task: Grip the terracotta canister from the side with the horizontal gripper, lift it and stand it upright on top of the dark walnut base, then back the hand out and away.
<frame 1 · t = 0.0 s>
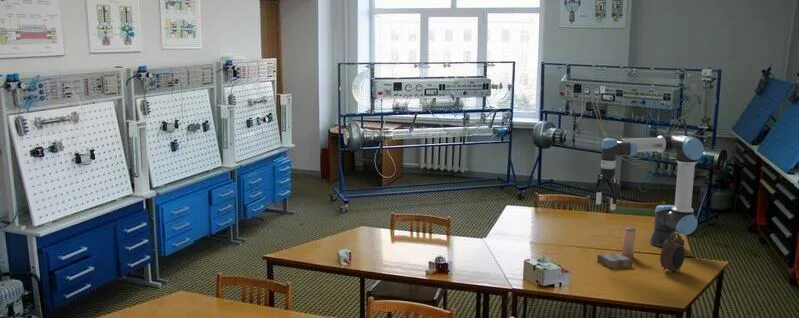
hand: (605, 206, 383), 28 cm above the table, tool pointing down, fingers open, 13 cm apart
base stand: (614, 264, 375), on the table
alarm clock: (672, 272, 365), on the table
canister: (627, 256, 389), on the table
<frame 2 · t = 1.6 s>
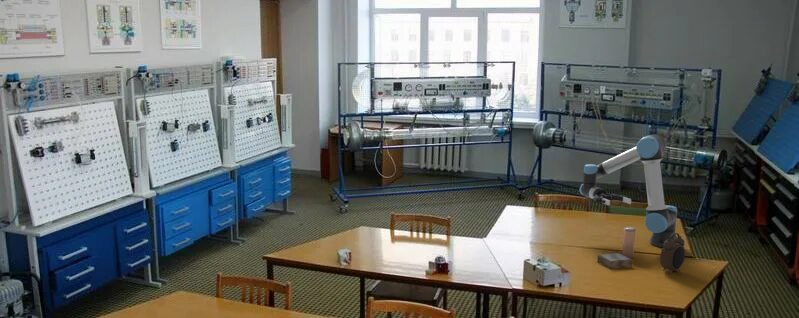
hand: (620, 202, 394), 28 cm above the table, tool horizontal, fingers open, 13 cm apart
nothing on the table moved.
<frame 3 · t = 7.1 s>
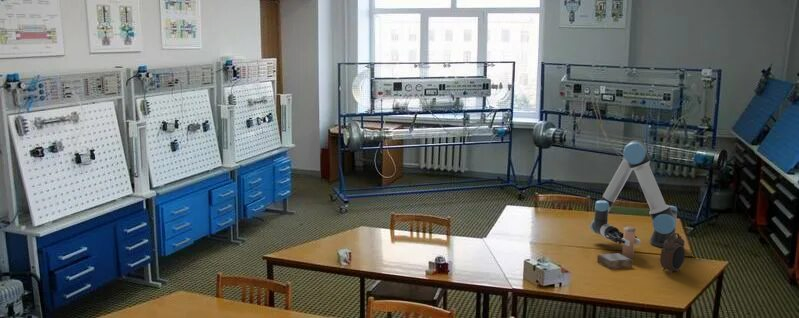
hand: (634, 243, 383), 9 cm above the table, tool horizontal, fingers closed on canister, 6 cm apart
canister: (627, 256, 389), on the table, touching gripper
everything else where it was.
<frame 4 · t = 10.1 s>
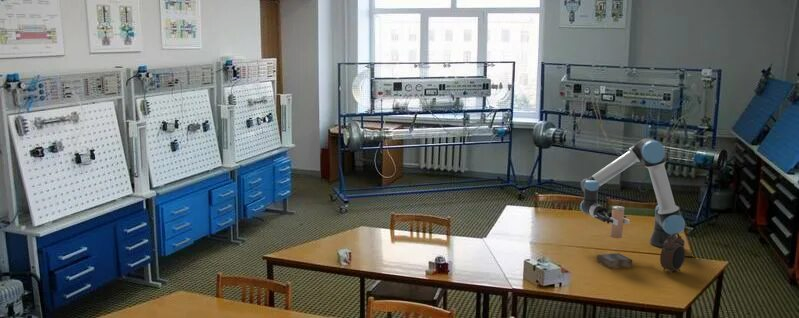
hand: (622, 222, 372), 23 cm above the table, tool horizontal, fingers closed on canister, 6 cm apart
canister: (616, 236, 378), point 14 cm above the table, touching gripper
everything else where it was.
when the fingers open (14 cm above the table, at t = 13.1 s): canister drops 1 cm, resting on base stand.
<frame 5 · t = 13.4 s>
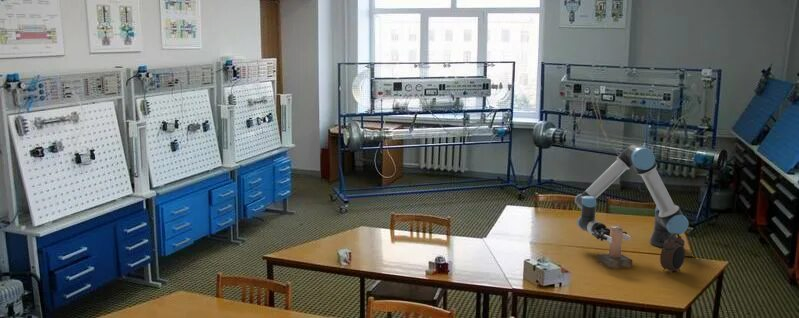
hand: (620, 239, 369), 14 cm above the table, tool horizontal, fingers open, 10 cm apart
canister: (614, 256, 375), point 4 cm above the table, touching base stand
everything else where it was.
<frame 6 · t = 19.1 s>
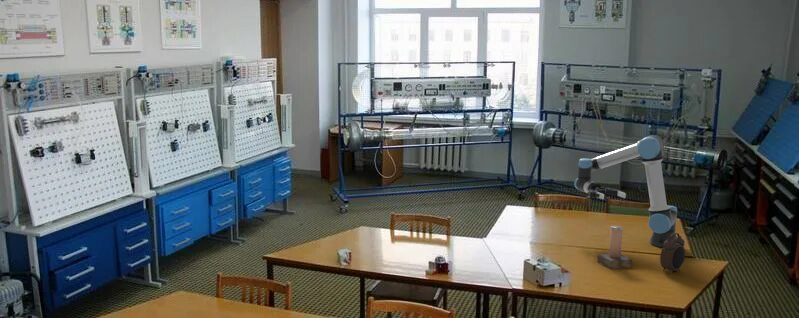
hand: (614, 196, 391), 32 cm above the table, tool horizontal, fingers open, 13 cm apart
nothing on the table moved.
at the end: canister inside the target area on the base stand (0.1 cm from its centre), point 4.0 cm above the base stand's base; canister tilted 1°; the gripper is holding nothing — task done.
